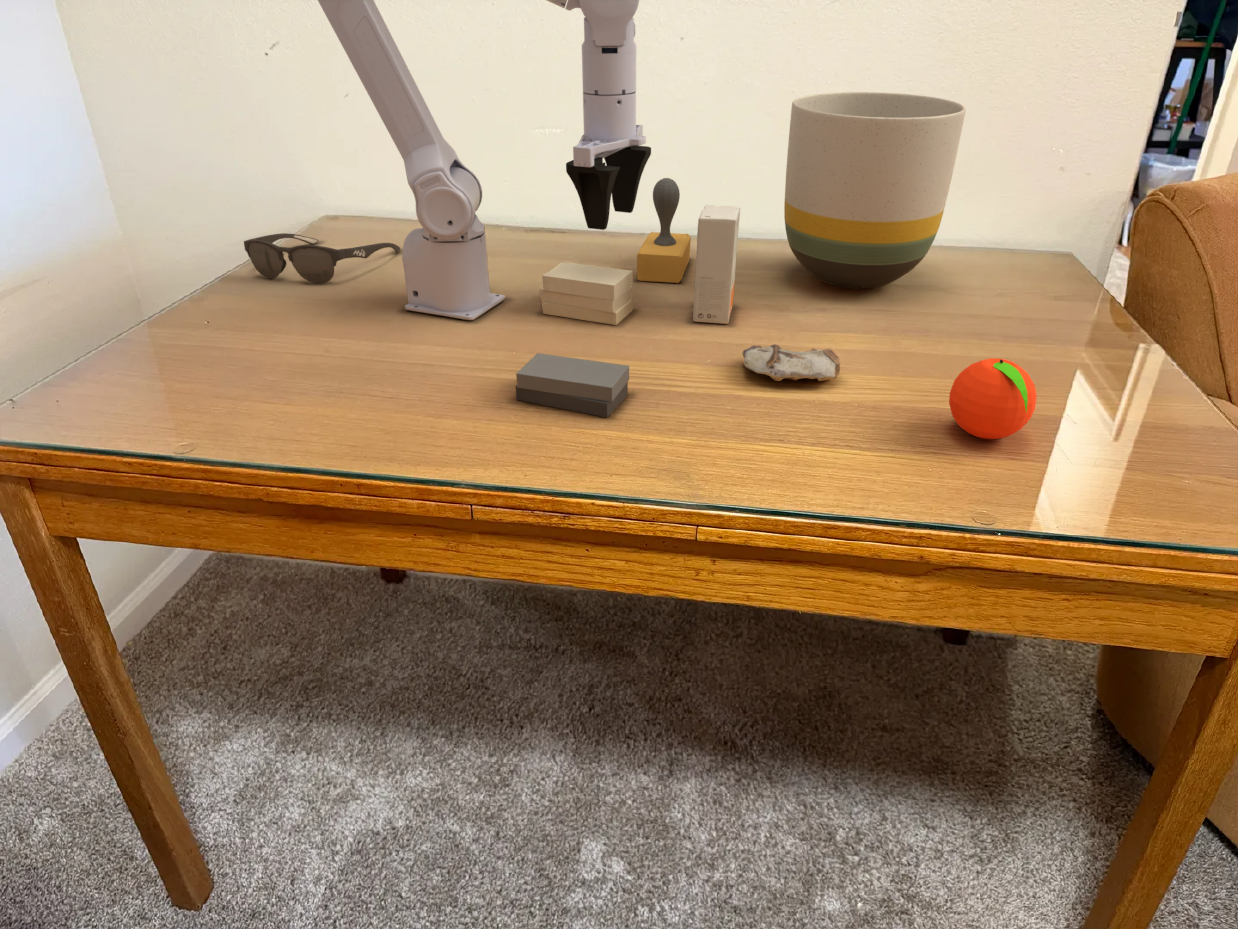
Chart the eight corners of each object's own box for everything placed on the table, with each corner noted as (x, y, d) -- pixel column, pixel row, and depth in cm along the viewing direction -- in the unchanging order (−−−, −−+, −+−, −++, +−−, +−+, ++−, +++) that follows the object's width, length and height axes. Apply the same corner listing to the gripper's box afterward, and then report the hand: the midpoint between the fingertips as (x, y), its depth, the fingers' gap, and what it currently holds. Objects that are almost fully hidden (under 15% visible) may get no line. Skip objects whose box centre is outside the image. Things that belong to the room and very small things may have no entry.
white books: (539, 314, 100) (537, 289, 98) (559, 299, 104) (558, 275, 103) (615, 326, 97) (615, 301, 95) (633, 310, 101) (633, 285, 99)
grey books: (514, 401, 81) (512, 372, 79) (541, 377, 85) (540, 350, 83) (609, 420, 77) (609, 390, 76) (632, 394, 82) (632, 366, 80)
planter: (866, 320, 98) (897, 124, 87) (744, 277, 111) (757, 102, 100) (961, 284, 108) (1000, 105, 97) (839, 249, 121) (861, 87, 110)
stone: (742, 388, 83) (744, 363, 81) (740, 357, 89) (742, 333, 88) (841, 392, 82) (845, 367, 81) (833, 360, 88) (836, 337, 87)
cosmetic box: (729, 325, 97) (736, 220, 90) (692, 322, 97) (696, 218, 91) (733, 306, 102) (741, 205, 96) (698, 304, 103) (703, 203, 96)
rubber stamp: (680, 283, 109) (683, 188, 103) (636, 280, 110) (637, 186, 104) (690, 260, 117) (693, 170, 111) (648, 257, 118) (650, 168, 112)
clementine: (1050, 455, 72) (1073, 379, 68) (976, 464, 70) (996, 387, 67) (995, 412, 78) (1014, 340, 75) (927, 419, 77) (942, 347, 73)
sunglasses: (233, 276, 111) (227, 238, 109) (311, 253, 126) (306, 219, 124) (343, 288, 107) (339, 248, 105) (410, 263, 122) (407, 228, 120)
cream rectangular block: (542, 290, 98) (542, 275, 97) (563, 275, 102) (563, 261, 102) (614, 300, 95) (614, 285, 94) (632, 285, 99) (632, 270, 99)
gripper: (616, 103, 83) (617, 240, 90) (668, 84, 95) (665, 207, 102) (553, 99, 86) (558, 233, 93) (610, 81, 97) (611, 202, 104)
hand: (610, 219), depth 97 cm, fingers open, 7 cm apart
